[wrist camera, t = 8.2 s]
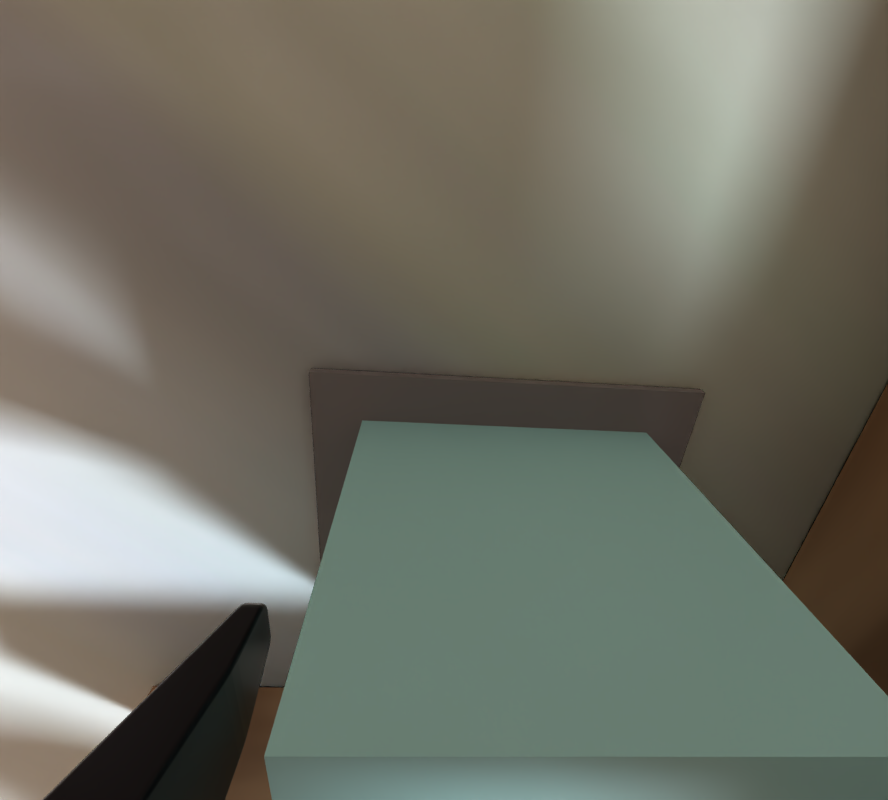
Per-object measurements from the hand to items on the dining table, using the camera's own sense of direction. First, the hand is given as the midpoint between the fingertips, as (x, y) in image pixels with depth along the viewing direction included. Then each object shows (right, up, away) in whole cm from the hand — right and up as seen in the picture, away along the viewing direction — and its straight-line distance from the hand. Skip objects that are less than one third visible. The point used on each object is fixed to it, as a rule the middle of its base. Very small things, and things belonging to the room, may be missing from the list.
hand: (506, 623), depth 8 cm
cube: (0, +1, +2) cm, 2 cm away
